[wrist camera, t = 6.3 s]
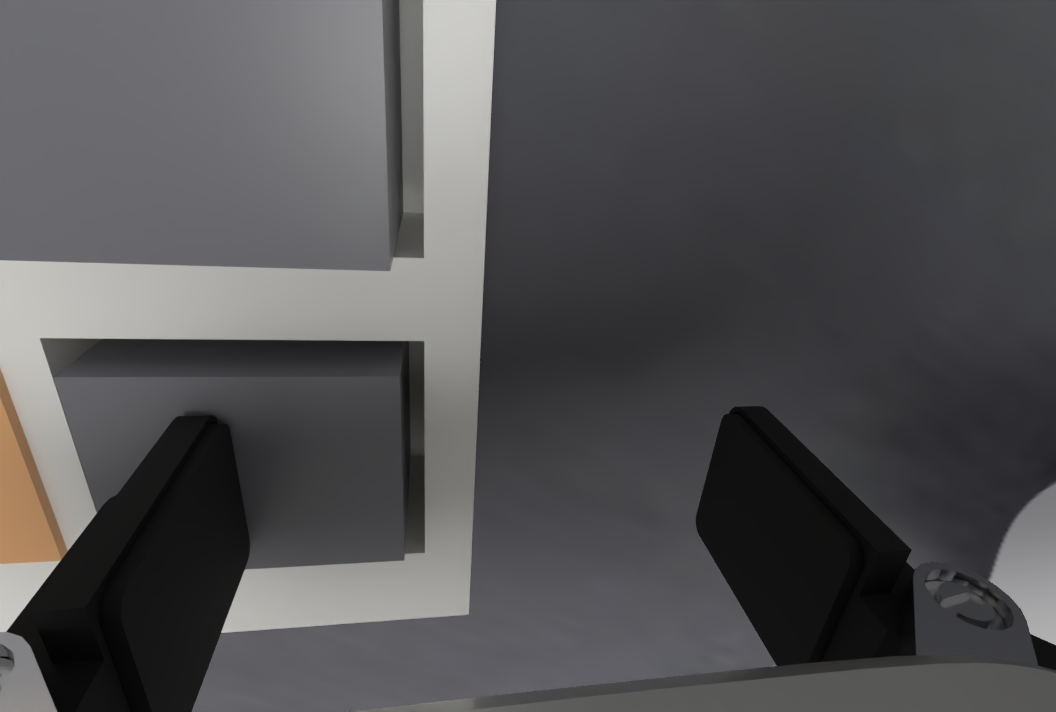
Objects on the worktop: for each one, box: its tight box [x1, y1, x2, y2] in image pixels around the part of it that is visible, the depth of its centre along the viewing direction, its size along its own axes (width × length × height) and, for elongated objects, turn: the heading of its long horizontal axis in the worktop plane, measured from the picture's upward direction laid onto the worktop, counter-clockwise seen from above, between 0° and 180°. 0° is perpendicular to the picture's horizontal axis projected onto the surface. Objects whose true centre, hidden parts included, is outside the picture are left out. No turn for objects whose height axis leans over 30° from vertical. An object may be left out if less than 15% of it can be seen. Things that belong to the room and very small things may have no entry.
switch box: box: [0, 0, 496, 633], centre depth 9 cm, size 12×22×5 cm, turn 176°
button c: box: [54, 339, 411, 569], centre depth 12 cm, size 5×4×4 cm
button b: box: [0, 0, 403, 271], centre depth 8 cm, size 5×4×4 cm
